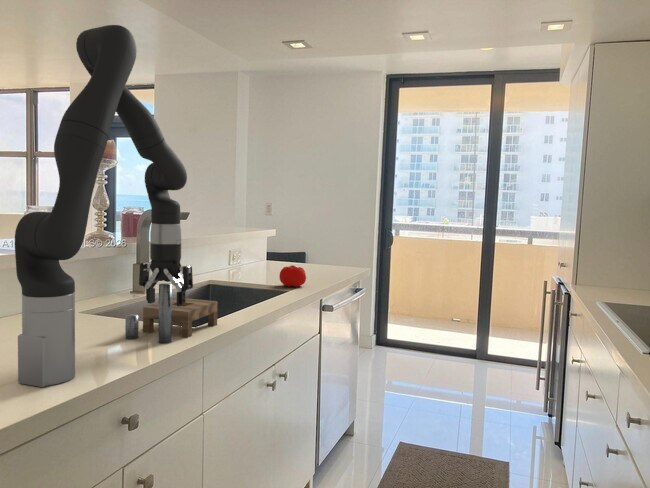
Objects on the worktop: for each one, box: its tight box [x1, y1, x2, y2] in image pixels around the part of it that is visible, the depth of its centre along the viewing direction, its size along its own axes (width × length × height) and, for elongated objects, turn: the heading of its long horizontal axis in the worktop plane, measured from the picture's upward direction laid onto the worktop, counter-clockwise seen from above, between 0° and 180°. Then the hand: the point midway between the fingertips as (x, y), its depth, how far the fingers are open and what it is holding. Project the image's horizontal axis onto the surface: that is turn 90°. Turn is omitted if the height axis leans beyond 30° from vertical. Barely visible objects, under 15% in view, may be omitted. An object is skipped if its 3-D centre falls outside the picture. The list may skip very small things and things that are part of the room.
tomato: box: [278, 264, 307, 288], centre depth 227 cm, size 11×12×9 cm
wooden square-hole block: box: [142, 296, 219, 338], centre depth 146 cm, size 16×14×7 cm
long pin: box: [157, 282, 173, 345], centre depth 131 cm, size 3×3×15 cm
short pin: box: [124, 313, 140, 340], centre depth 134 cm, size 3×3×6 cm
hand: (165, 304), depth 131 cm, fingers open, 8 cm apart
